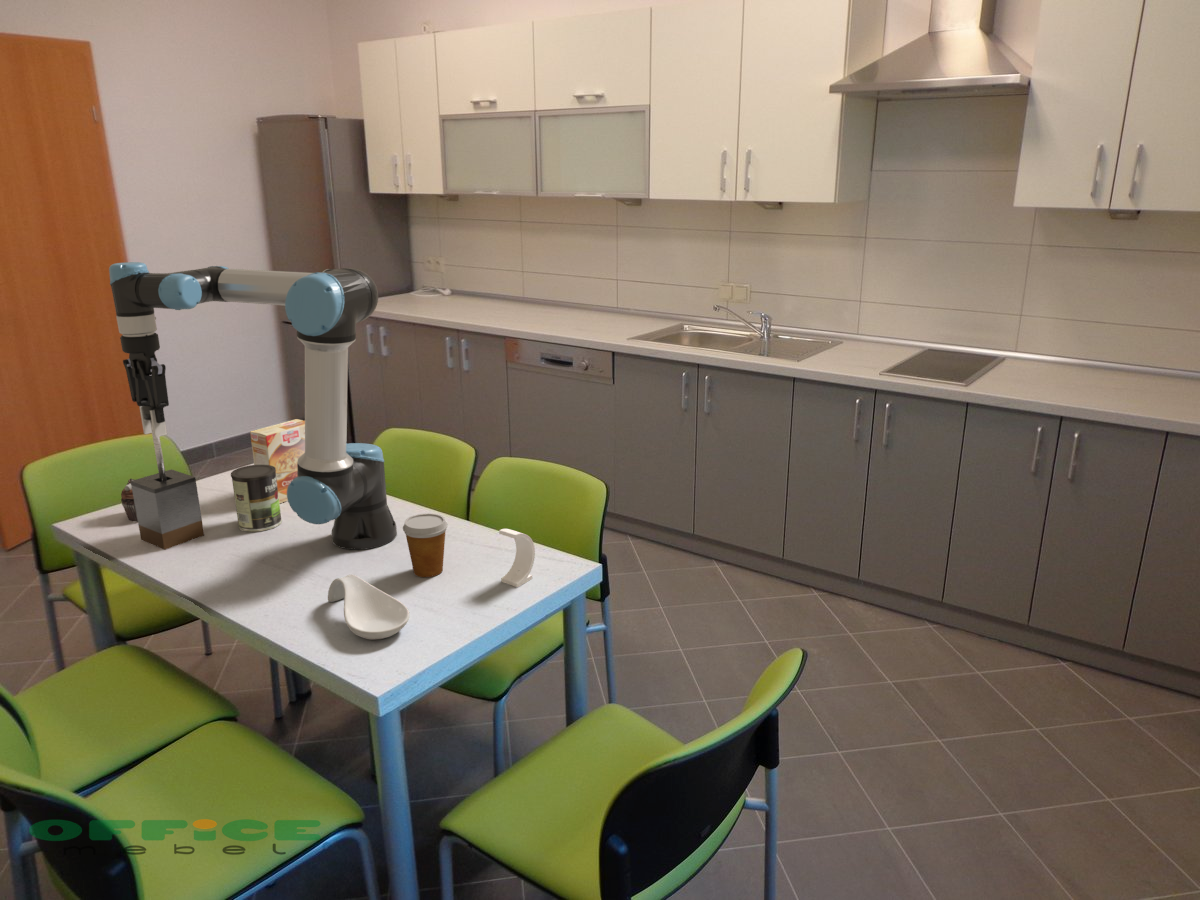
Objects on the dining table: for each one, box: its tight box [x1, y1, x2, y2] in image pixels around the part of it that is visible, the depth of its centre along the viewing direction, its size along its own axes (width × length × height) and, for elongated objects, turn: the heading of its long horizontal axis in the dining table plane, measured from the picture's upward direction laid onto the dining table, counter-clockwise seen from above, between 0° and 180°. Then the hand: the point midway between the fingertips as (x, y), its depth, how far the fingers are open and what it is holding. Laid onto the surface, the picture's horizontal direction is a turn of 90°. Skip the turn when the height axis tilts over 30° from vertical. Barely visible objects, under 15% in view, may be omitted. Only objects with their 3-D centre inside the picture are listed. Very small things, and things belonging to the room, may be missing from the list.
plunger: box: [142, 403, 167, 482], centre depth 199 cm, size 7×7×20 cm
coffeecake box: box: [249, 418, 305, 505], centre depth 230 cm, size 15×7×20 cm, turn 147°
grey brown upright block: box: [131, 468, 205, 551], centre depth 203 cm, size 10×10×15 cm
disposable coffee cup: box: [402, 512, 449, 578], centre depth 187 cm, size 10×10×12 cm
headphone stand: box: [498, 528, 536, 588], centre depth 183 cm, size 5×6×12 cm
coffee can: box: [230, 464, 283, 533], centre depth 212 cm, size 10×10×14 cm
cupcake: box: [120, 478, 138, 523], centre depth 217 cm, size 10×10×10 cm
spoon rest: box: [327, 574, 410, 640], centre depth 167 cm, size 24×12×7 cm, turn 42°
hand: (155, 434), depth 198 cm, fingers closed on plunger, 4 cm apart
